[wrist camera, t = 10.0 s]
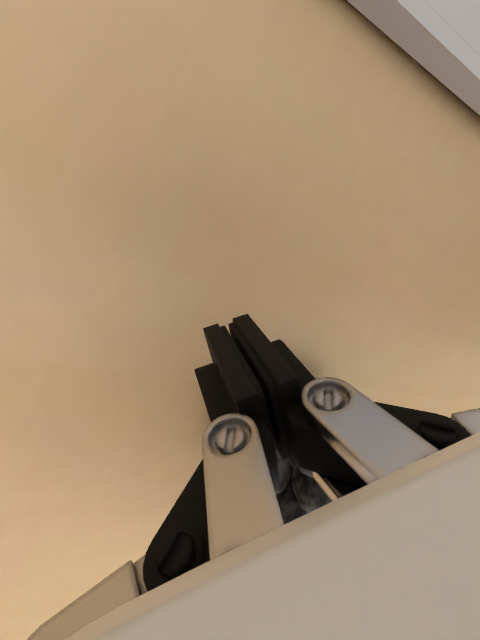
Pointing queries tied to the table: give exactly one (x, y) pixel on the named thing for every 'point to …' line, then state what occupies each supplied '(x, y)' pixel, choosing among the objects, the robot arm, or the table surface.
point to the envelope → (435, 38)
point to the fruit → (297, 491)
